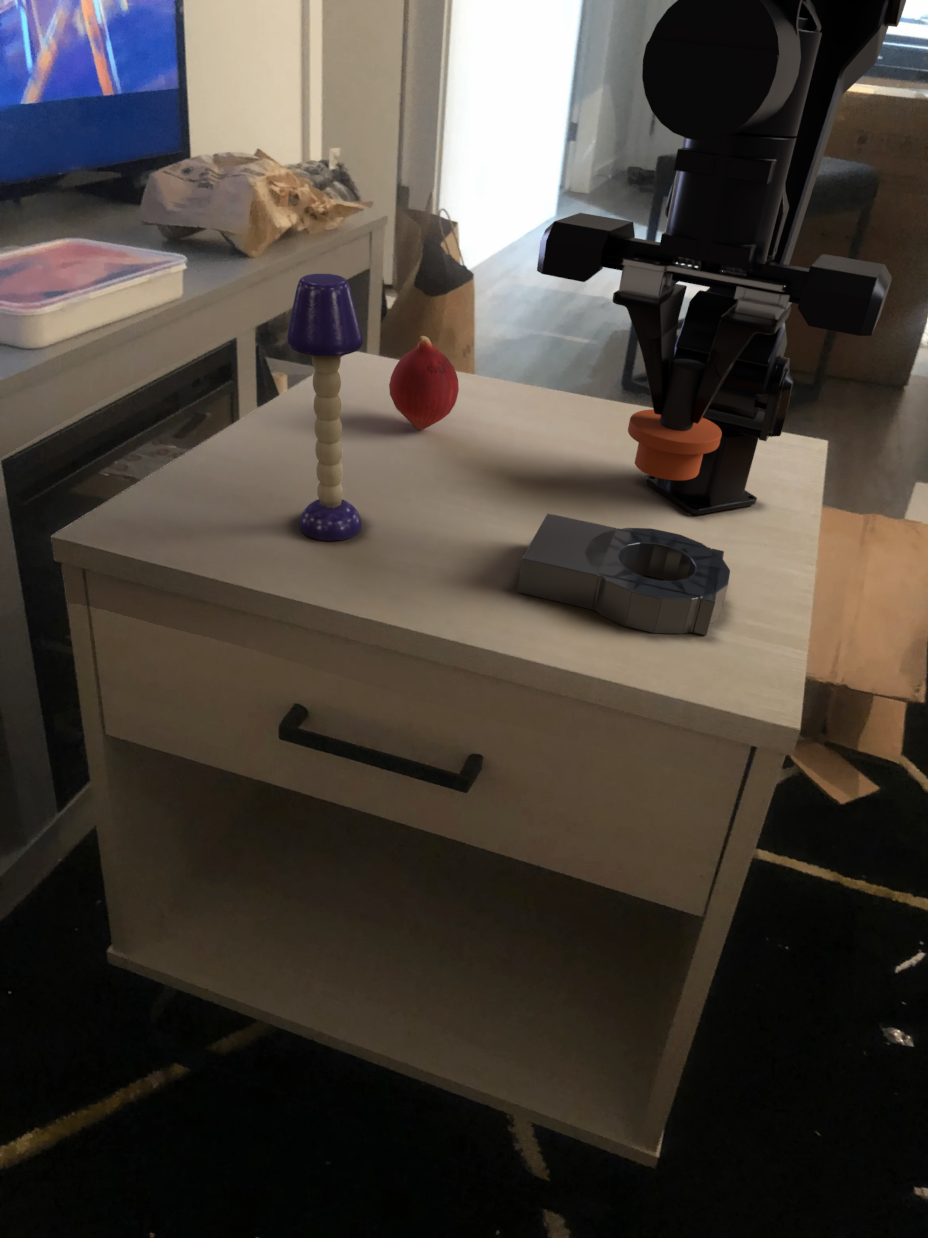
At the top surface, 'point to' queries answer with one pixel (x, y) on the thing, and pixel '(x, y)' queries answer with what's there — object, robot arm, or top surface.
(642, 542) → the plate
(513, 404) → the top surface
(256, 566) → the top surface
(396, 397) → the onion
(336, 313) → the toy lamp
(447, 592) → the top surface
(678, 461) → the stopper
